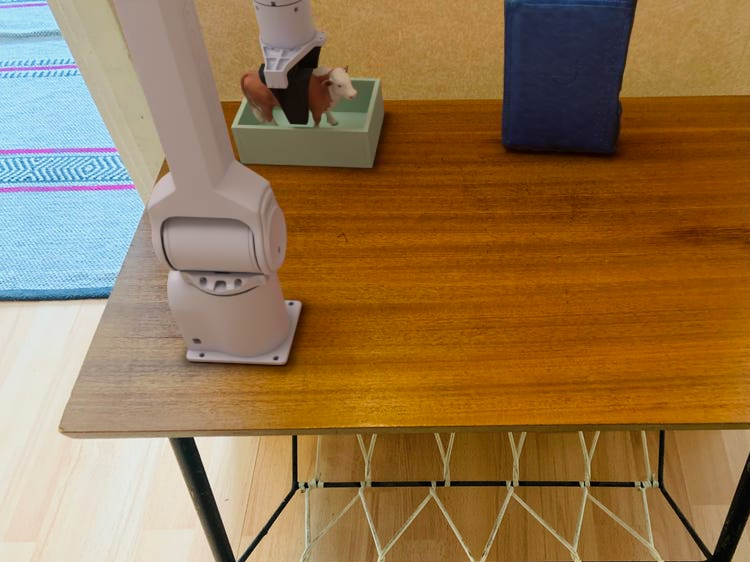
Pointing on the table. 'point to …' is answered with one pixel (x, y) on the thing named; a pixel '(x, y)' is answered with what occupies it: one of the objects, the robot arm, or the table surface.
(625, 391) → the table surface
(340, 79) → the bull figurine
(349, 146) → the bin
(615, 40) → the book
